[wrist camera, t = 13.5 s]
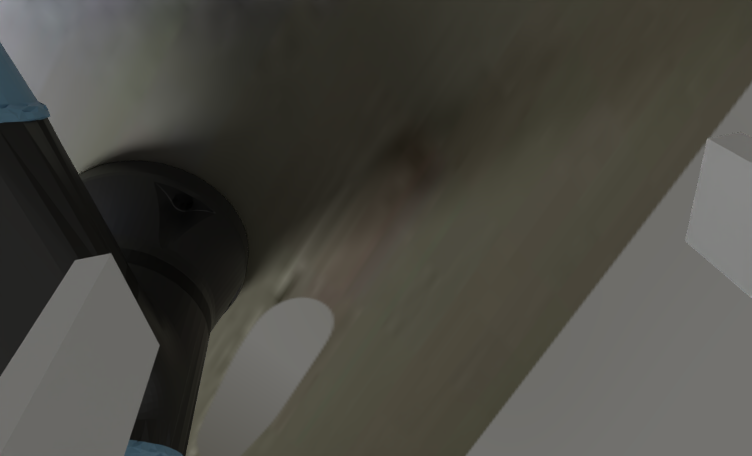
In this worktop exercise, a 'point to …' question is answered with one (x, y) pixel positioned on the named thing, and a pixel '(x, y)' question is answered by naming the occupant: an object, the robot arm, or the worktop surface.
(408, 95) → the worktop surface
